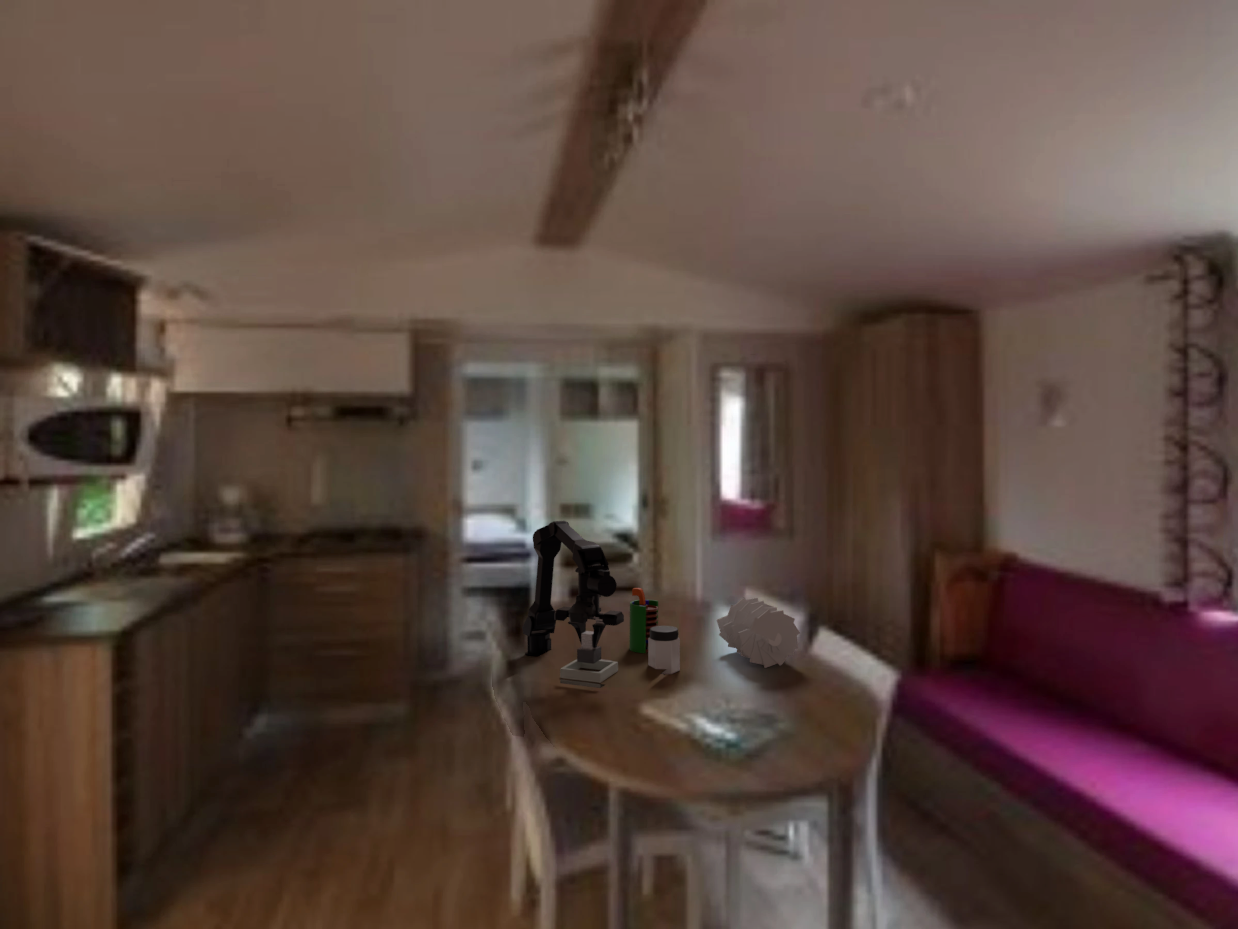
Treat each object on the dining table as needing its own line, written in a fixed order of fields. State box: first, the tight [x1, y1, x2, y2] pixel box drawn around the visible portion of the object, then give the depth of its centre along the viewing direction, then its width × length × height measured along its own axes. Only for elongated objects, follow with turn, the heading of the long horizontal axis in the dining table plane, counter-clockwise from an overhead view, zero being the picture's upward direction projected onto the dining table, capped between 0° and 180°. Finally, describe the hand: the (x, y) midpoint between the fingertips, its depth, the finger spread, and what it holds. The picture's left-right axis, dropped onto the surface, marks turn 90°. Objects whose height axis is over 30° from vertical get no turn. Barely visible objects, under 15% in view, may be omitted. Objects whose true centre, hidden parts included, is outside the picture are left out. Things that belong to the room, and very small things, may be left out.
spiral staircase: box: [716, 597, 801, 669], centre depth 257 cm, size 18×18×25 cm
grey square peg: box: [576, 630, 602, 664], centre depth 238 cm, size 5×5×8 cm
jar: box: [647, 625, 681, 675], centre depth 247 cm, size 9×8×12 cm
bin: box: [559, 658, 619, 689], centre depth 238 cm, size 12×12×4 cm
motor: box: [628, 587, 659, 654], centre depth 265 cm, size 10×9×20 cm
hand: (589, 646), depth 238 cm, fingers closed on grey square peg, 3 cm apart
